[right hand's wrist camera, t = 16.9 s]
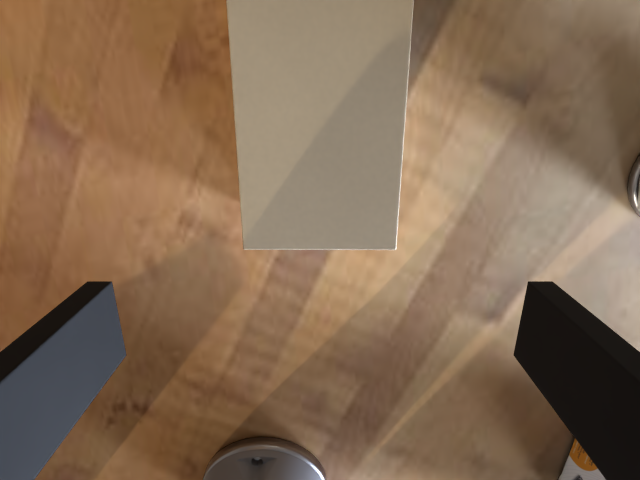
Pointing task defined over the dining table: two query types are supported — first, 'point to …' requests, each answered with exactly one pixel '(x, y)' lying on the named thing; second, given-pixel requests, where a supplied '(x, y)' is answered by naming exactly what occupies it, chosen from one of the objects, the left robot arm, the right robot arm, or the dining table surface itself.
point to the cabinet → (319, 120)
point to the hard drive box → (580, 466)
